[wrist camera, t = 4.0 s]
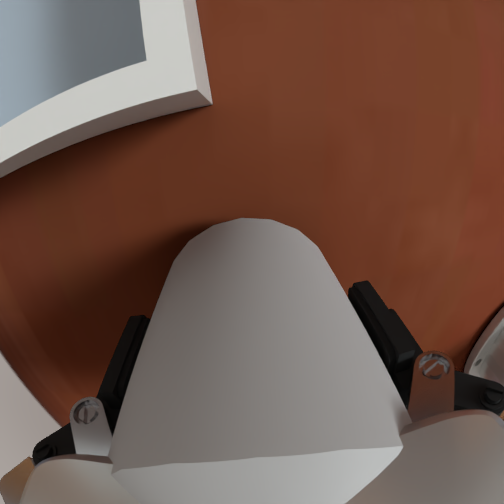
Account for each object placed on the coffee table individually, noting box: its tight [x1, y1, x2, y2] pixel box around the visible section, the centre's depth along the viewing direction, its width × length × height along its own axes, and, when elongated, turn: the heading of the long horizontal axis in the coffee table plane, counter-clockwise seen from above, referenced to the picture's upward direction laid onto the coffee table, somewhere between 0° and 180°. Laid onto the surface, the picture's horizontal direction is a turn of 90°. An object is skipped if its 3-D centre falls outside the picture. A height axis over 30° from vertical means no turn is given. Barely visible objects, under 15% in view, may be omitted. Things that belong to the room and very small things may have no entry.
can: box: [108, 218, 413, 504], centre depth 9 cm, size 8×8×12 cm
